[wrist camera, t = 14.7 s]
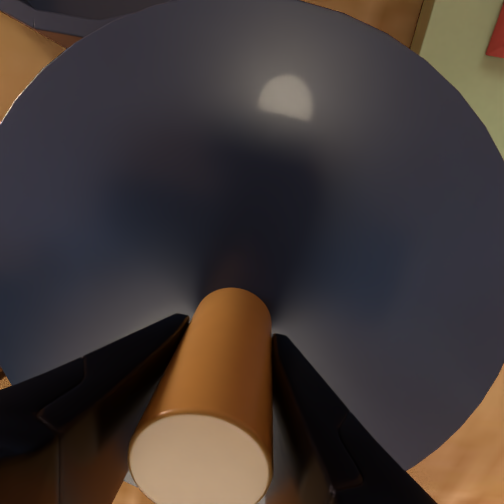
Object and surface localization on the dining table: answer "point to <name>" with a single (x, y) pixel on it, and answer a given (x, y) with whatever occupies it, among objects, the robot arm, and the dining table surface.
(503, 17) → the meat
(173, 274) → the lid
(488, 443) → the dining table surface
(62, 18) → the pot
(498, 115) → the board
